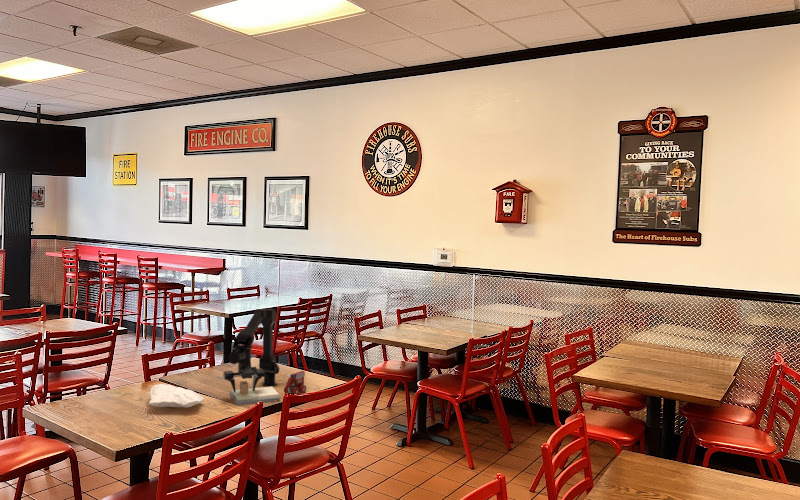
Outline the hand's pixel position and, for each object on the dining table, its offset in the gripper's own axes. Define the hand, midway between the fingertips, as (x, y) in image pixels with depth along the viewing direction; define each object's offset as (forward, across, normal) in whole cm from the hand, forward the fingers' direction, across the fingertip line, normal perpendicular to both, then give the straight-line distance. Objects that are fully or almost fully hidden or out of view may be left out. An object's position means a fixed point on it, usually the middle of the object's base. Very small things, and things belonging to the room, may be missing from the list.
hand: (244, 391), depth 294 cm
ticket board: (+3, +5, 0) cm, 6 cm away
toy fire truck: (+4, +25, +1) cm, 25 cm away
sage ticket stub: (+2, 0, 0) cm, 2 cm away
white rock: (+4, -32, -1) cm, 32 cm away
